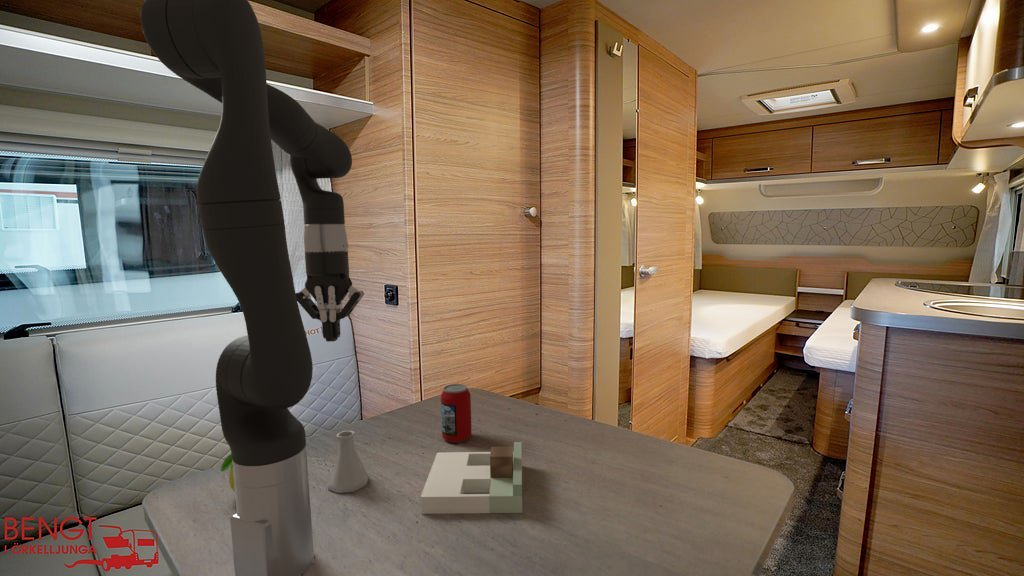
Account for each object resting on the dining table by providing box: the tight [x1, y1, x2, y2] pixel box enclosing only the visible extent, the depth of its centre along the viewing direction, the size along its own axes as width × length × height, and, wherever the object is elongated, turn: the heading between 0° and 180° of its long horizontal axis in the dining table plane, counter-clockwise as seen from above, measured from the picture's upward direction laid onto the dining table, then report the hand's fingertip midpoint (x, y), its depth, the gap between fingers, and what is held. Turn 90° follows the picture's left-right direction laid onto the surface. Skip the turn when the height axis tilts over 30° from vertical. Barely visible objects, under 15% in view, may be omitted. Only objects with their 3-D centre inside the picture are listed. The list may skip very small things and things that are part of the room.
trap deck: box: [420, 441, 523, 515], centre depth 89 cm, size 17×16×5 cm
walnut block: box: [490, 446, 514, 478], centre depth 88 cm, size 4×4×4 cm
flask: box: [327, 430, 370, 494], centre depth 91 cm, size 7×7×10 cm
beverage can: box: [440, 383, 472, 444], centre depth 110 cm, size 7×7×12 cm
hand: (332, 340), depth 92 cm, fingers closed
